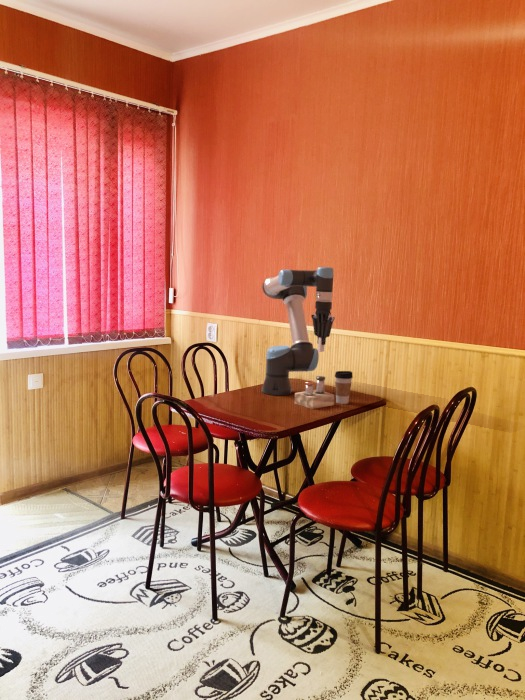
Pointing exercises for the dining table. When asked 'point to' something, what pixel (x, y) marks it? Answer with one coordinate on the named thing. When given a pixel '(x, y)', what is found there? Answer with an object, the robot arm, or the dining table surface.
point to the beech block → (314, 399)
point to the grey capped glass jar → (320, 385)
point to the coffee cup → (343, 386)
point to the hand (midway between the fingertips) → (320, 351)
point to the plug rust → (309, 388)
